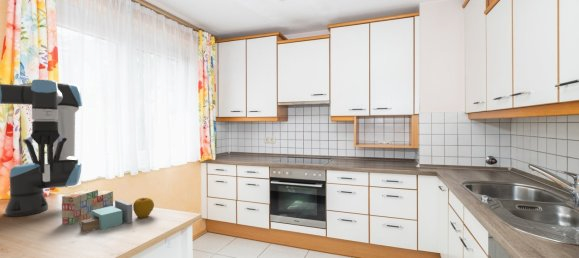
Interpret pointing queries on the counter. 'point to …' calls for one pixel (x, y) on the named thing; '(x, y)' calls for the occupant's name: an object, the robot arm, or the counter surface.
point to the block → (108, 217)
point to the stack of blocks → (84, 204)
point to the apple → (143, 207)
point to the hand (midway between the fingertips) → (46, 180)
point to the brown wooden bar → (90, 224)
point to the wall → (124, 210)
